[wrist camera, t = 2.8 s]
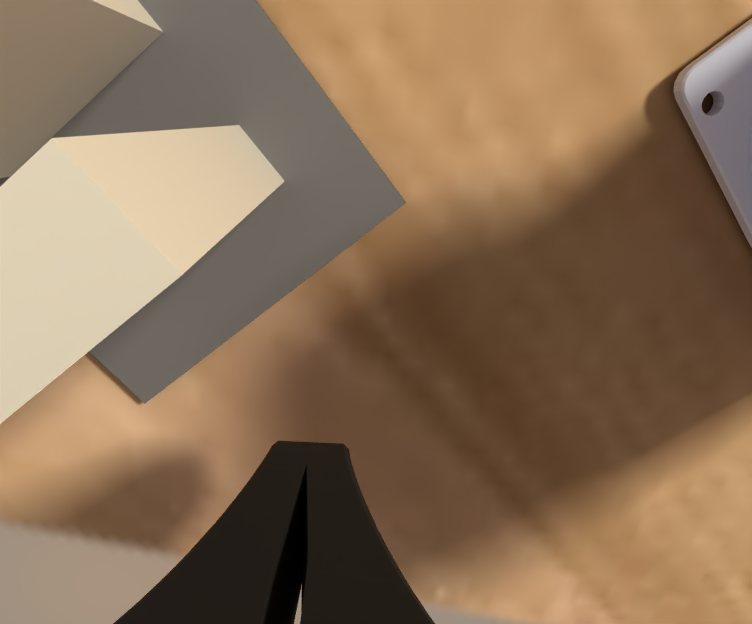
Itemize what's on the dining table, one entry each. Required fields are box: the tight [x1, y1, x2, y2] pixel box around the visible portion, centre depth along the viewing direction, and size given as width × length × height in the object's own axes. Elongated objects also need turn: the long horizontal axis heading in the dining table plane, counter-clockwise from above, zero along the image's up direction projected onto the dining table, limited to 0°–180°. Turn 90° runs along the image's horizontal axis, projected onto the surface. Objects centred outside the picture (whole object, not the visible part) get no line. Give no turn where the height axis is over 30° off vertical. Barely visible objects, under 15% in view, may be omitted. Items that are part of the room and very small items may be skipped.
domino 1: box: [0, 125, 284, 424], centre depth 9 cm, size 2×5×8 cm, turn 127°
